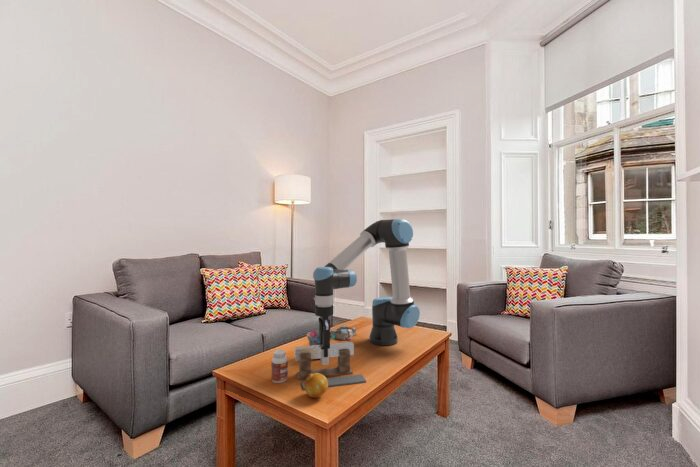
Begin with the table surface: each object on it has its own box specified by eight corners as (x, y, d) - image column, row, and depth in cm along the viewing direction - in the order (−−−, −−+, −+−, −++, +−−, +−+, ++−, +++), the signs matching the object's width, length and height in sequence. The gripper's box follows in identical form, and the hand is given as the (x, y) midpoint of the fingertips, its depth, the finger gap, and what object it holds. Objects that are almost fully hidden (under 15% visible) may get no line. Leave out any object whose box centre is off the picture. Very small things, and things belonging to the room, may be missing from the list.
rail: (351, 352, 140) (351, 341, 140) (353, 354, 137) (353, 343, 137) (294, 358, 133) (294, 347, 133) (295, 360, 131) (295, 349, 131)
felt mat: (361, 375, 133) (361, 374, 133) (366, 382, 127) (366, 380, 127) (301, 383, 127) (301, 381, 127) (303, 390, 121) (303, 388, 121)
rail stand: (348, 367, 141) (348, 345, 141) (352, 373, 135) (352, 350, 135) (296, 373, 135) (296, 350, 135) (298, 379, 129) (298, 355, 129)
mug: (315, 362, 147) (315, 338, 147) (302, 357, 153) (302, 334, 153) (335, 354, 156) (334, 332, 156) (321, 350, 162) (321, 328, 162)
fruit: (301, 401, 113) (301, 377, 113) (308, 390, 121) (308, 368, 121) (325, 403, 112) (324, 379, 112) (330, 391, 120) (330, 369, 120)
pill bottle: (282, 384, 125) (281, 355, 125) (268, 382, 128) (268, 353, 128) (290, 377, 131) (290, 350, 131) (277, 375, 134) (277, 348, 133)
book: (342, 344, 171) (342, 335, 171) (323, 340, 177) (323, 331, 177) (362, 334, 188) (362, 325, 188) (344, 331, 194) (344, 322, 194)
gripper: (312, 301, 142) (312, 356, 142) (318, 310, 126) (318, 371, 126) (329, 300, 144) (329, 354, 144) (337, 308, 128) (337, 369, 128)
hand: (324, 362), depth 135 cm, fingers closed on rail, 3 cm apart
